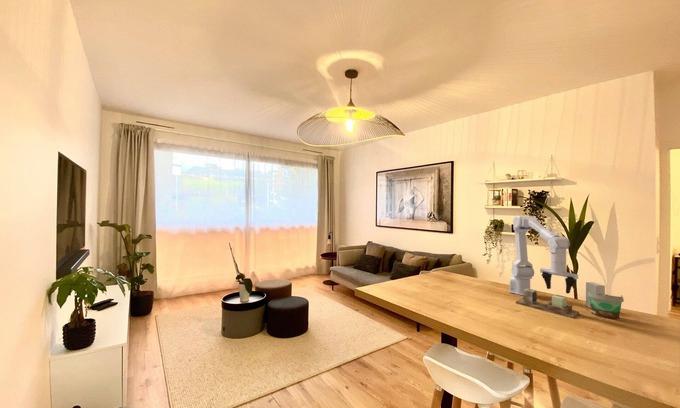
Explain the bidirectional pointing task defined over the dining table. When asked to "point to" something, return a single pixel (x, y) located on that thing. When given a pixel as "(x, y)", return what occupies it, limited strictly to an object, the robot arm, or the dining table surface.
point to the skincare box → (593, 290)
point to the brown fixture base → (544, 304)
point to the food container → (605, 305)
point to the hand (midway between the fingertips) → (558, 290)
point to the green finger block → (559, 301)
